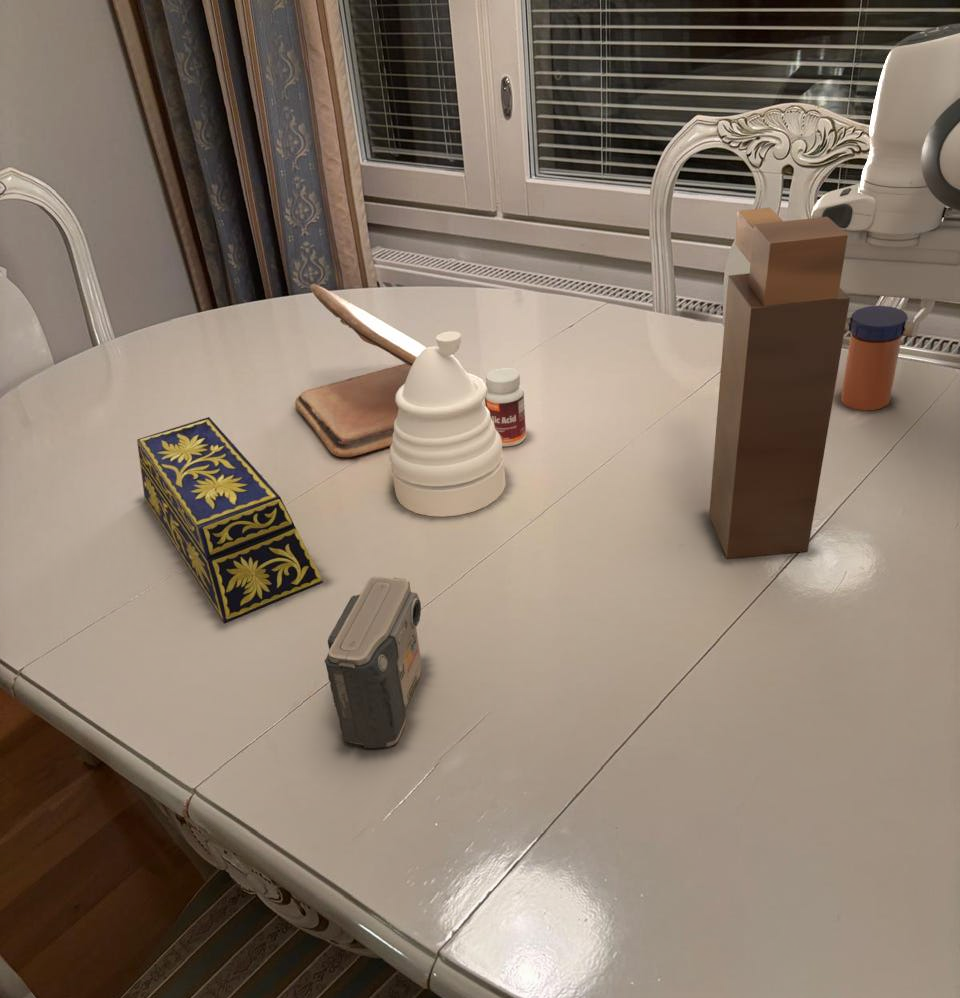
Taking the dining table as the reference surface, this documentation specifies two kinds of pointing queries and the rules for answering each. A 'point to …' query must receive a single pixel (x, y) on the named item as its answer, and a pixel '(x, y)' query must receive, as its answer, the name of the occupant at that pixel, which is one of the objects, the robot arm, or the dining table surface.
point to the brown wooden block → (791, 256)
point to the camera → (375, 661)
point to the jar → (869, 373)
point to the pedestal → (772, 419)
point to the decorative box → (223, 519)
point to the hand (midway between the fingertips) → (875, 331)
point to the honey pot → (445, 437)
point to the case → (359, 387)
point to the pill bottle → (506, 405)
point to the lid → (878, 323)
